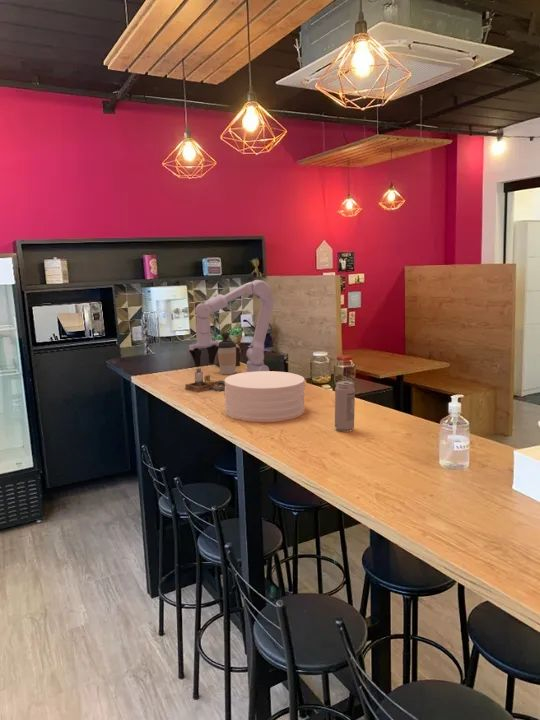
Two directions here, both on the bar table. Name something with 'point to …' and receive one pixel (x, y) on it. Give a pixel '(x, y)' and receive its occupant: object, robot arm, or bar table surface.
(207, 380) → the golden l-shaped block
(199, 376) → the peg
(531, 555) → the bar table surface
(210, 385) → the square wooden tray
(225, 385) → the socket collar
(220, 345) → the coffee cup
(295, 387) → the plate stack
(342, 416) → the energy drink can
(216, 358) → the potted plant
